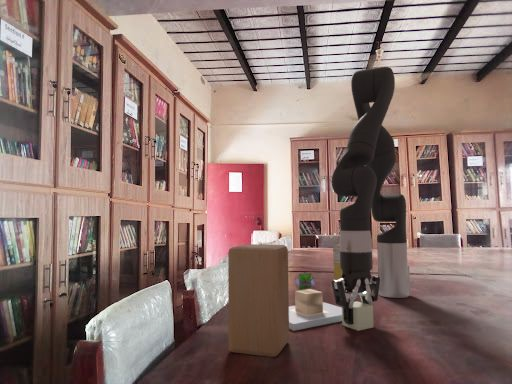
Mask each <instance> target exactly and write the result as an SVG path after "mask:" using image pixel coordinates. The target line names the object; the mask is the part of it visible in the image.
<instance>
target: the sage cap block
mask: <svg viewBox="0 0 512 384" xmlns="http://www.w3.org/2000/svg"><path fill="white" fill-rule="evenodd" d="M341 307H342V306H341ZM352 308H353V324H352V325H349V324H346V323H345V321H344V319H343V317H344V316H343V307H342V321H341V323H342V326H343V327H346V328H348V329H349V328H350V329H352V330H355V331H358V332H359V331H362V330H367V329H372V328H374V305H373V304H372V305H369V304H365V303H362V301H361V302H360V301H354V303H353V307H352Z"/></svg>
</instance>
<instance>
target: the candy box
mask: <svg viewBox="0 0 512 384" xmlns="http://www.w3.org/2000/svg"><path fill="white" fill-rule="evenodd" d="M332 251H333V252H332V253H333V254H332V255H333V257H332V258H333V273H334V274H333V275H334V277H333V278H334V279H333V280H339V279H341V276H342V273H343V271H342V269H341V268H340V243H337V244H332Z"/></svg>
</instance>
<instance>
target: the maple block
mask: <svg viewBox="0 0 512 384" xmlns="http://www.w3.org/2000/svg"><path fill="white" fill-rule="evenodd" d="M294 298H295V299H294V303H295V305H294V306H295V311H298V312H301V313H304V314H307V315H309V314H315V313H320V312H323V302H324V301H323V298H324V296H323V291H319V290H317V289H313V288H311V289H306V290H299V289H298V290H295V291H294Z"/></svg>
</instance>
